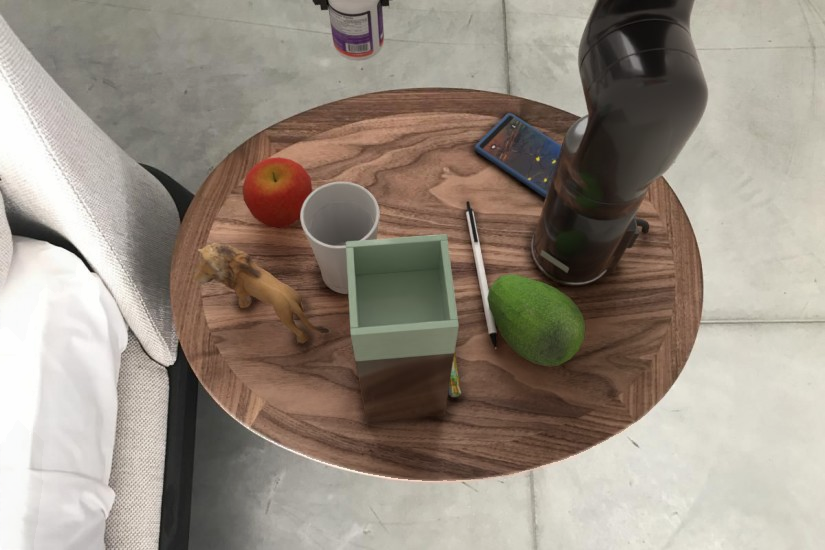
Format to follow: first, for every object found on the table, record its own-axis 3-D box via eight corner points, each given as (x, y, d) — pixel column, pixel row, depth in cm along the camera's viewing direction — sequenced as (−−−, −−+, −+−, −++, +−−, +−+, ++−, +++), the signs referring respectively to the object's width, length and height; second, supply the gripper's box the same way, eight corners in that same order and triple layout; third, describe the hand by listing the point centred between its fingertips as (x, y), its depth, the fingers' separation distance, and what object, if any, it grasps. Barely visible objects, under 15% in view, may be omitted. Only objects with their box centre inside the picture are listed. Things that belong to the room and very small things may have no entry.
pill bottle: (356, 17, 78) (349, -62, 69) (394, 40, 76) (392, -37, 68) (322, 45, 76) (310, -32, 67) (360, 70, 74) (353, -6, 66)
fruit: (570, 385, 77) (492, 324, 84) (612, 323, 76) (529, 267, 83) (538, 377, 70) (456, 312, 77) (583, 310, 69) (495, 250, 76)
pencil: (429, 250, 84) (449, 398, 76) (429, 246, 83) (449, 394, 75) (440, 249, 84) (461, 396, 76) (440, 245, 83) (461, 393, 75)
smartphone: (509, 110, 93) (606, 172, 89) (508, 114, 94) (604, 176, 89) (472, 146, 90) (570, 212, 86) (472, 150, 91) (569, 216, 87)
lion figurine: (203, 303, 81) (180, 265, 73) (227, 265, 83) (208, 225, 75) (319, 353, 79) (309, 319, 71) (341, 312, 81) (333, 275, 73)
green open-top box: (436, 342, 79) (446, 233, 58) (444, 415, 75) (459, 326, 54) (362, 349, 79) (345, 241, 58) (366, 422, 75) (350, 335, 54)
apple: (239, 203, 87) (225, 165, 80) (296, 174, 89) (287, 134, 82) (270, 250, 84) (257, 214, 77) (328, 218, 86) (321, 181, 79)
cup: (374, 306, 81) (369, 254, 70) (306, 293, 82) (290, 240, 71) (389, 246, 85) (387, 188, 74) (323, 234, 85) (312, 175, 75)
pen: (471, 203, 87) (471, 198, 86) (499, 349, 79) (500, 346, 78) (463, 204, 87) (464, 199, 86) (491, 350, 79) (492, 347, 78)
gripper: (245, -135, 54) (282, 35, 69) (435, -146, 55) (431, 25, 70) (247, -193, 58) (282, -20, 73) (425, -203, 58) (423, -29, 73)
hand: (355, 1), depth 71 cm, fingers closed on pill bottle, 5 cm apart
